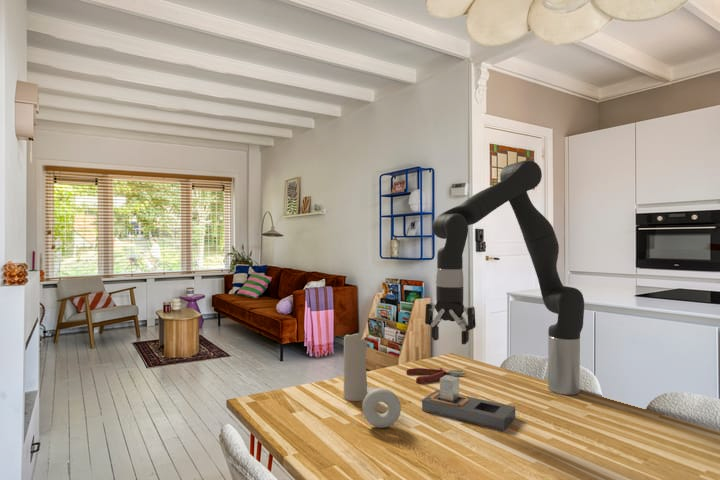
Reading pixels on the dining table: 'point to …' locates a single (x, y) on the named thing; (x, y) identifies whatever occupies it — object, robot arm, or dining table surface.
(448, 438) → the dining table surface
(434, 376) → the pliers
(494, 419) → the rail
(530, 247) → the robot arm
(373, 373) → the dining table surface
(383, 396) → the donut
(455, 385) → the steel block
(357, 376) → the tall grey curved block
